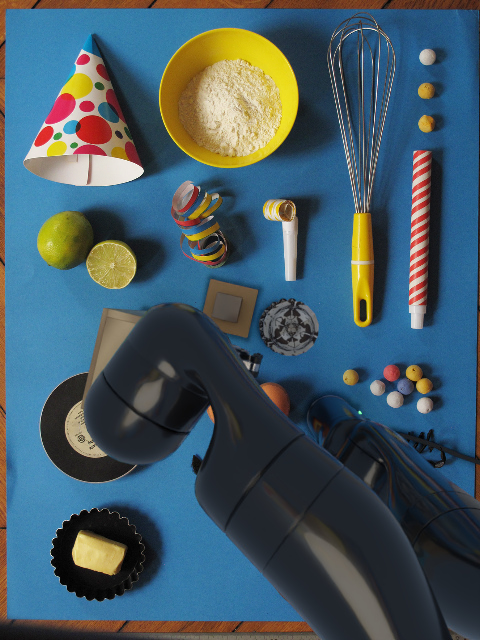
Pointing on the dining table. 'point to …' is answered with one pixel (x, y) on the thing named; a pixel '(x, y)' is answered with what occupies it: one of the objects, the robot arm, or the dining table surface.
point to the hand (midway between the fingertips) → (212, 348)
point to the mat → (245, 313)
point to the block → (227, 307)
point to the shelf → (110, 339)
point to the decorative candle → (288, 327)
